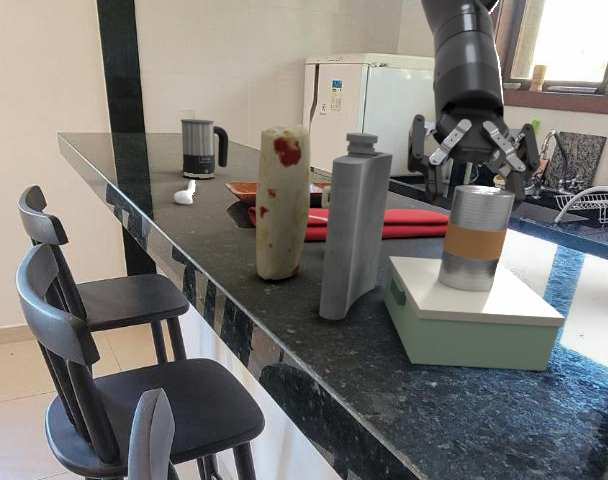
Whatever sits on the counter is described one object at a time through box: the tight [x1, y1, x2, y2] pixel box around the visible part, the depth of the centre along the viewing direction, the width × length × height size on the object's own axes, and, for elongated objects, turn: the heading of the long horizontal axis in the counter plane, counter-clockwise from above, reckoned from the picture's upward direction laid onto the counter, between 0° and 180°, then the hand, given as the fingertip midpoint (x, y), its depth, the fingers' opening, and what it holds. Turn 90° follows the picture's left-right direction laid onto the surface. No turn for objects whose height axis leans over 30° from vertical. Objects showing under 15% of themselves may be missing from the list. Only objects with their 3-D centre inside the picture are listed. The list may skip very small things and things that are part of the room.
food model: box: [255, 123, 312, 281], centre depth 72 cm, size 10×7×20 cm
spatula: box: [173, 179, 197, 206], centre depth 126 cm, size 28×4×3 cm, turn 8°
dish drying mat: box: [247, 206, 450, 242], centre depth 104 cm, size 16×41×4 cm, turn 113°
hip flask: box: [318, 132, 394, 321], centre depth 65 cm, size 16×4×20 cm, turn 157°
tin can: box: [438, 184, 515, 292], centre depth 57 cm, size 6×6×10 cm
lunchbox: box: [383, 255, 566, 372], centre depth 61 cm, size 16×18×6 cm
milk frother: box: [180, 118, 229, 180], centre depth 151 cm, size 14×16×15 cm
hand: (476, 204), depth 57 cm, fingers open, 8 cm apart
